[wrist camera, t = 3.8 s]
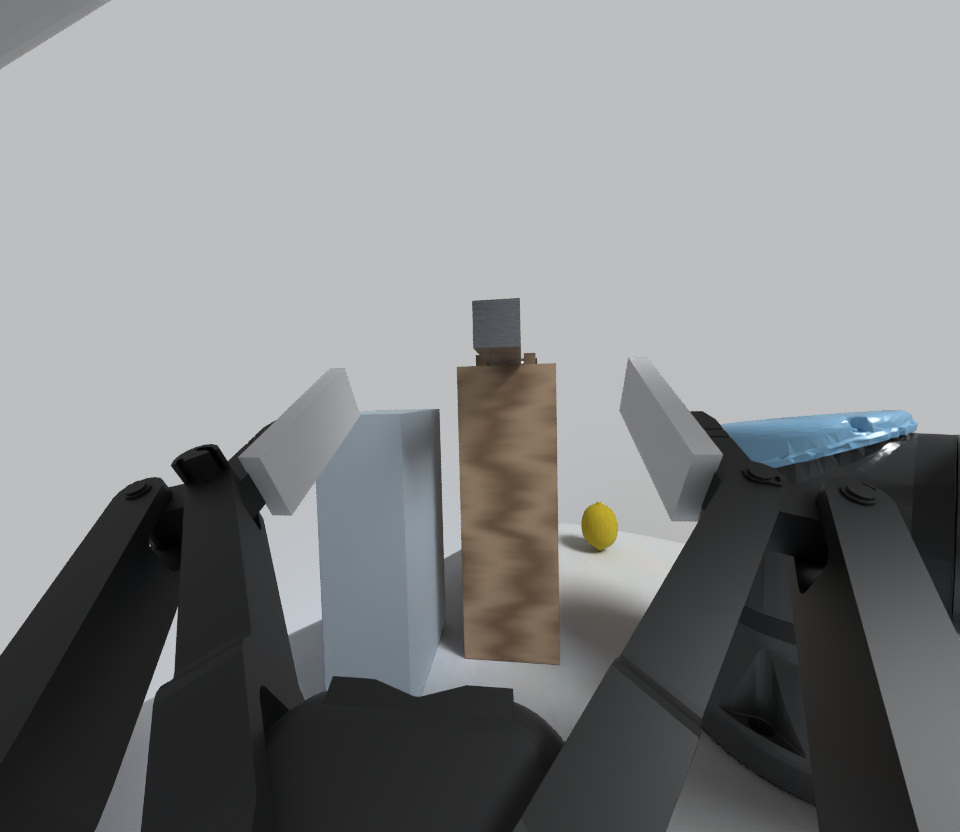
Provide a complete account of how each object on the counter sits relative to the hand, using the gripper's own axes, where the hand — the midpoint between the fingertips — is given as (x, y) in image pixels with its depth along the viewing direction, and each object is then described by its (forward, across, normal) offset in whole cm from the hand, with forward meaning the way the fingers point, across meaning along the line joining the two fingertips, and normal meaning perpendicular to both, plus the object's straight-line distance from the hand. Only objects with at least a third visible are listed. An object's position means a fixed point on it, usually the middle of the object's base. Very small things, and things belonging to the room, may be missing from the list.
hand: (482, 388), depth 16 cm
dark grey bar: (+17, +1, -7) cm, 19 cm away
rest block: (0, -10, -29) cm, 31 cm away
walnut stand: (+8, +1, -34) cm, 35 cm away
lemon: (+22, +14, -42) cm, 50 cm away
